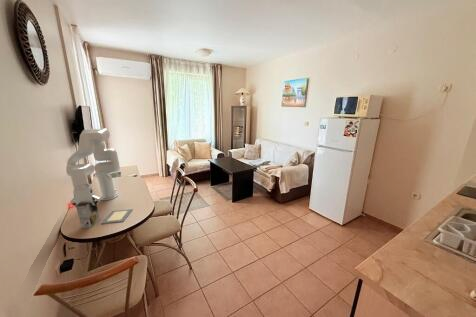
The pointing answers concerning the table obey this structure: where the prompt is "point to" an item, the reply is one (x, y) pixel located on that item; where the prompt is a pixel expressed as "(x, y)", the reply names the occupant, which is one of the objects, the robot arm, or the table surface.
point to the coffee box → (87, 215)
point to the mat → (117, 216)
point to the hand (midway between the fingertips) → (88, 210)
